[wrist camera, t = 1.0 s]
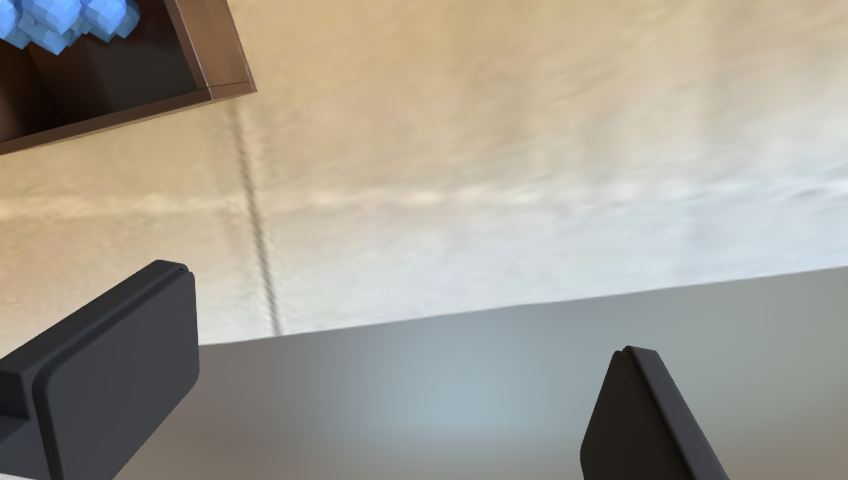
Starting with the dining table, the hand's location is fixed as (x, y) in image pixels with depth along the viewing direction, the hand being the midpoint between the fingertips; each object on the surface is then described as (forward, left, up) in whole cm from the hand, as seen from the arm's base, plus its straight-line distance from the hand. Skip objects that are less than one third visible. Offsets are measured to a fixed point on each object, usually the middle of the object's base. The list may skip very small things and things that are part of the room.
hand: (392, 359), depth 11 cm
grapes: (-15, -23, -28) cm, 39 cm away
